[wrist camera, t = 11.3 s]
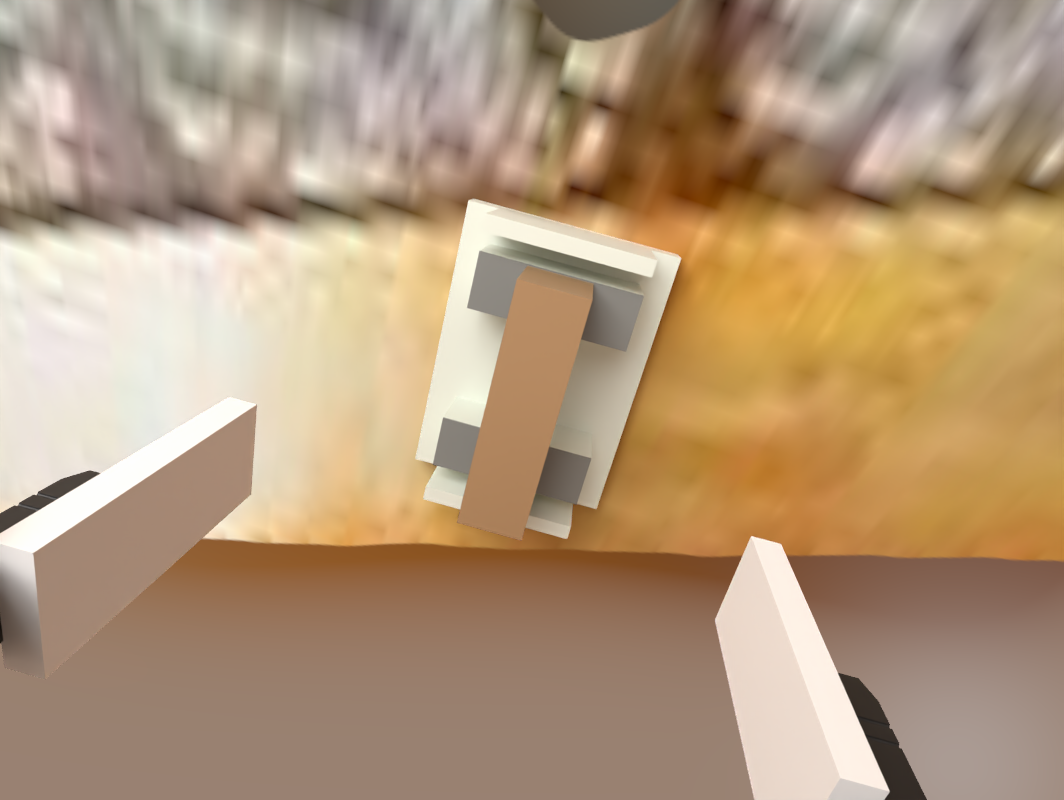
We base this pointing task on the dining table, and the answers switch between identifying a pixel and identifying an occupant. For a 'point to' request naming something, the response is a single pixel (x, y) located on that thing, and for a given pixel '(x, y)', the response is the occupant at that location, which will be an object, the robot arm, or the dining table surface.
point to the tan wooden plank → (524, 399)
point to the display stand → (598, 371)
